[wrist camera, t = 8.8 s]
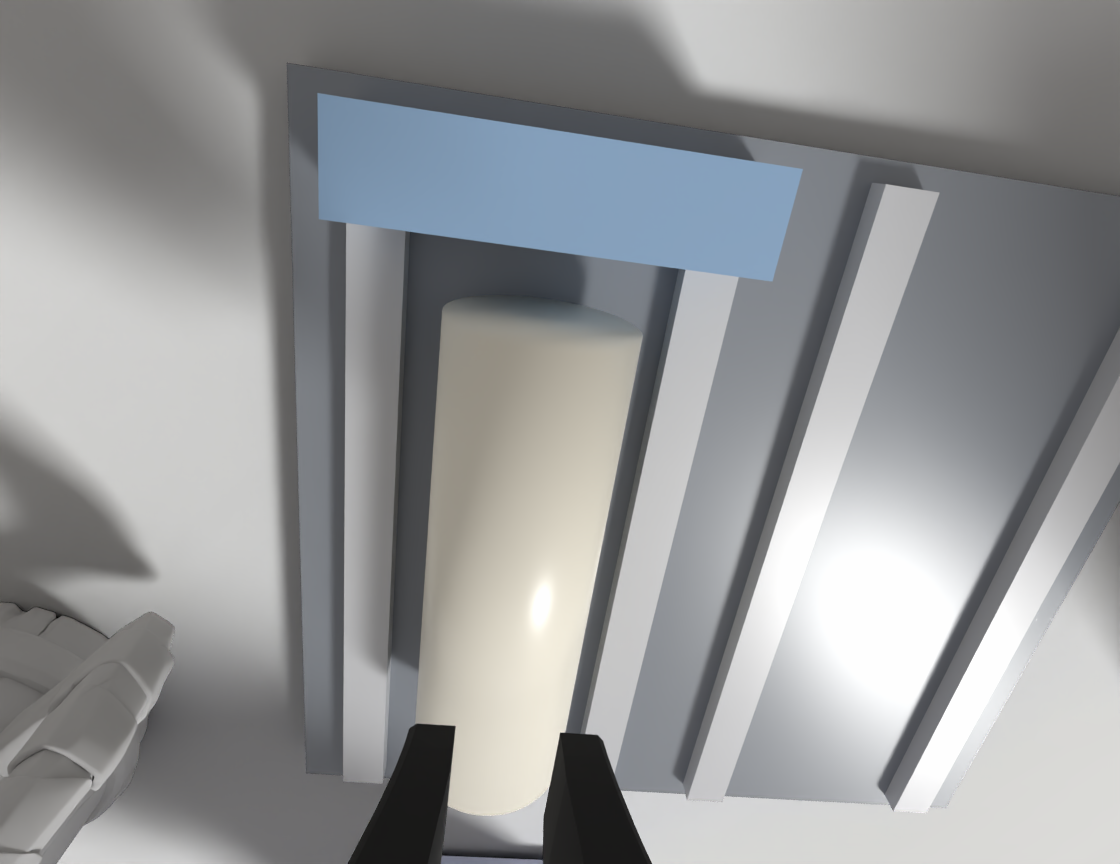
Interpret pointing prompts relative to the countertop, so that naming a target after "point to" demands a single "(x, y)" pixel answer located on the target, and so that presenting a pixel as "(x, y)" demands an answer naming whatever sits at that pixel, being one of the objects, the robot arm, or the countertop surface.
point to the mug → (70, 723)
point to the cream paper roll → (516, 530)
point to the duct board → (712, 429)
